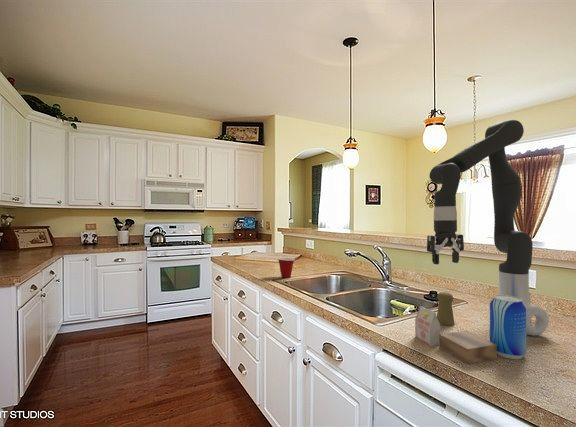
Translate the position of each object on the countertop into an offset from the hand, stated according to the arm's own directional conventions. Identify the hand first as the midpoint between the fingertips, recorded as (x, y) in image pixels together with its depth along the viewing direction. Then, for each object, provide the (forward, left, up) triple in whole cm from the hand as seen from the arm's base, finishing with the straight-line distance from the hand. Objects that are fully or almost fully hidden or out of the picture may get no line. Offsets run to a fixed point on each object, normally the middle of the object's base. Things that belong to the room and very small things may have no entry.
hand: (445, 263), depth 109 cm
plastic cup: (+36, -91, -22) cm, 100 cm away
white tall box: (+17, +11, -22) cm, 30 cm away
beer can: (+1, +24, -22) cm, 33 cm away
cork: (0, 0, -22) cm, 22 cm away
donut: (-19, +17, -22) cm, 34 cm away
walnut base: (+12, +21, -22) cm, 32 cm away
